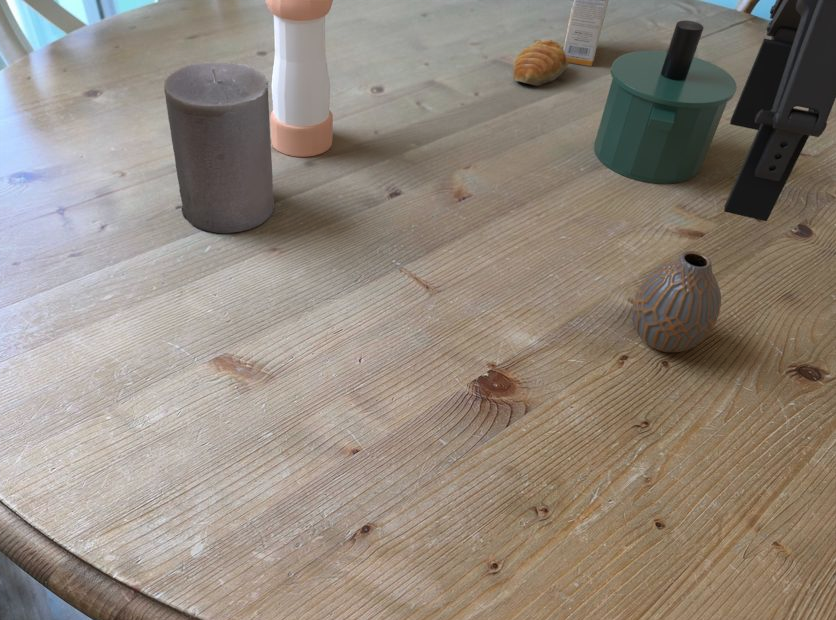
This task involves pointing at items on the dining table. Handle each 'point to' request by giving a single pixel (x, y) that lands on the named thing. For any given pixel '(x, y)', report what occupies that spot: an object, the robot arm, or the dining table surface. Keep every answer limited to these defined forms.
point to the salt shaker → (300, 78)
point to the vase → (677, 303)
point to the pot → (654, 137)
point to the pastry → (540, 63)
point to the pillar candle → (221, 145)
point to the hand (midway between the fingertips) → (746, 166)
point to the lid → (675, 73)
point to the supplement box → (584, 30)
